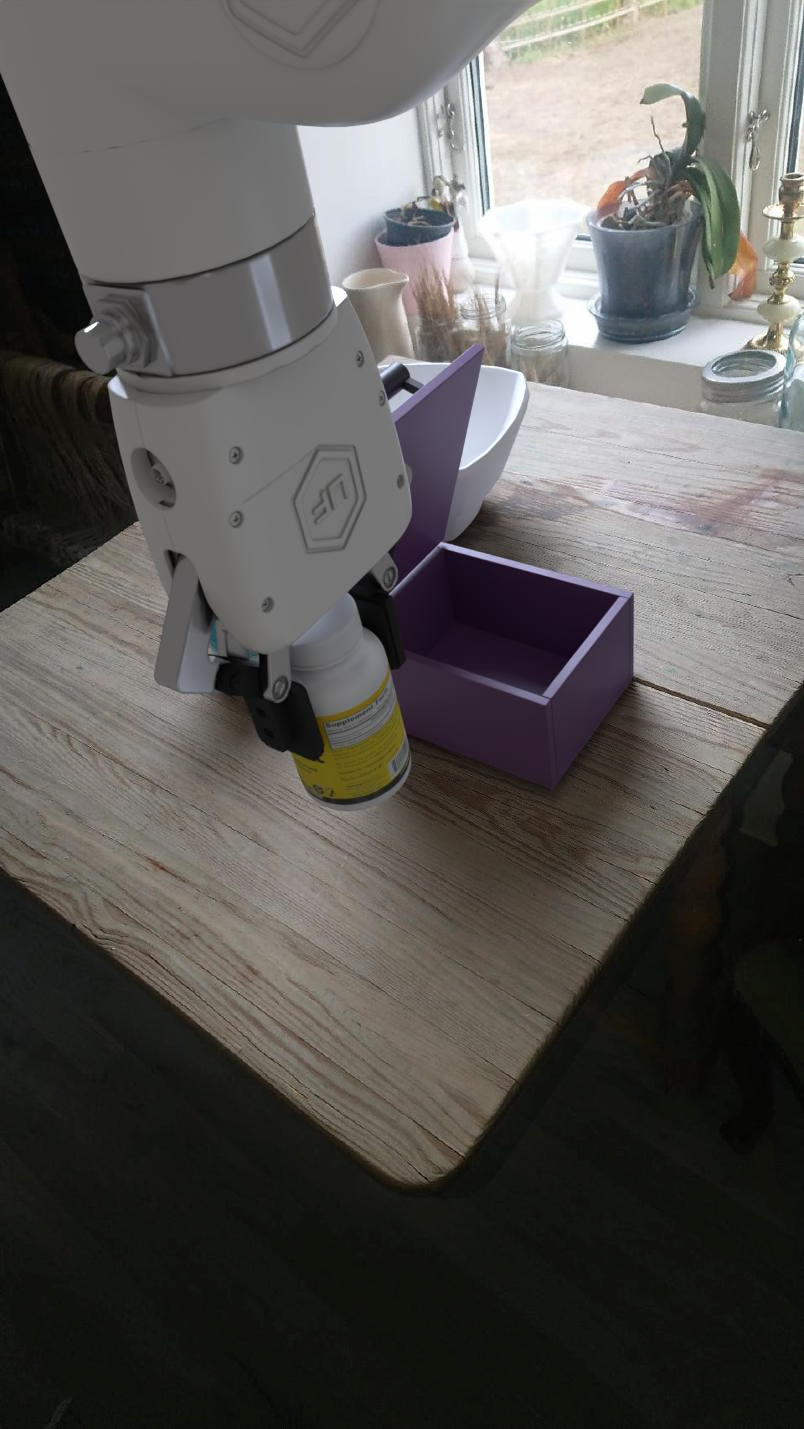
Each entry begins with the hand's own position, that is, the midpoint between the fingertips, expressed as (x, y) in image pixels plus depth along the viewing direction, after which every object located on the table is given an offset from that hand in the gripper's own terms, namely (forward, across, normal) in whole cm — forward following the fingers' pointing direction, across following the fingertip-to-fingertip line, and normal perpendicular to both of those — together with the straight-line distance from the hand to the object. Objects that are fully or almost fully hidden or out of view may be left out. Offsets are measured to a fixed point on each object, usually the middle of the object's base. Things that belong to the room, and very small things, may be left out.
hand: (335, 698), depth 44 cm
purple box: (+27, +26, +10) cm, 39 cm away
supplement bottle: (+5, 0, 0) cm, 5 cm away
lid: (+9, +26, +15) cm, 31 cm away
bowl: (+27, +46, +31) cm, 62 cm away
